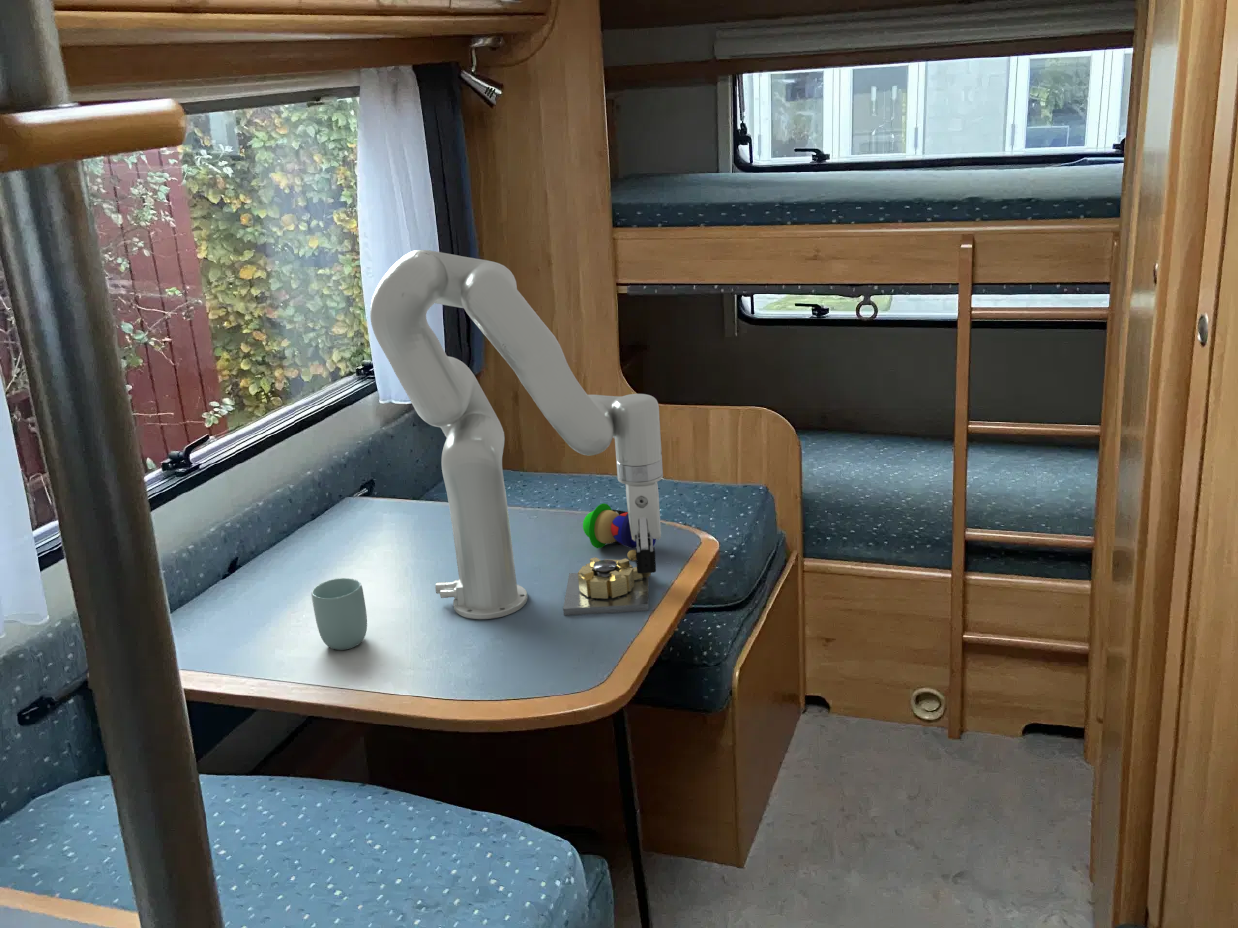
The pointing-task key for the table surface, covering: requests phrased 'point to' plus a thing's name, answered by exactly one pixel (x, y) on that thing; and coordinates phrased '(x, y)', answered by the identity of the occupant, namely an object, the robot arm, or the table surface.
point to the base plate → (587, 605)
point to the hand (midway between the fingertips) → (646, 570)
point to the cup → (340, 612)
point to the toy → (609, 528)
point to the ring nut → (608, 580)
